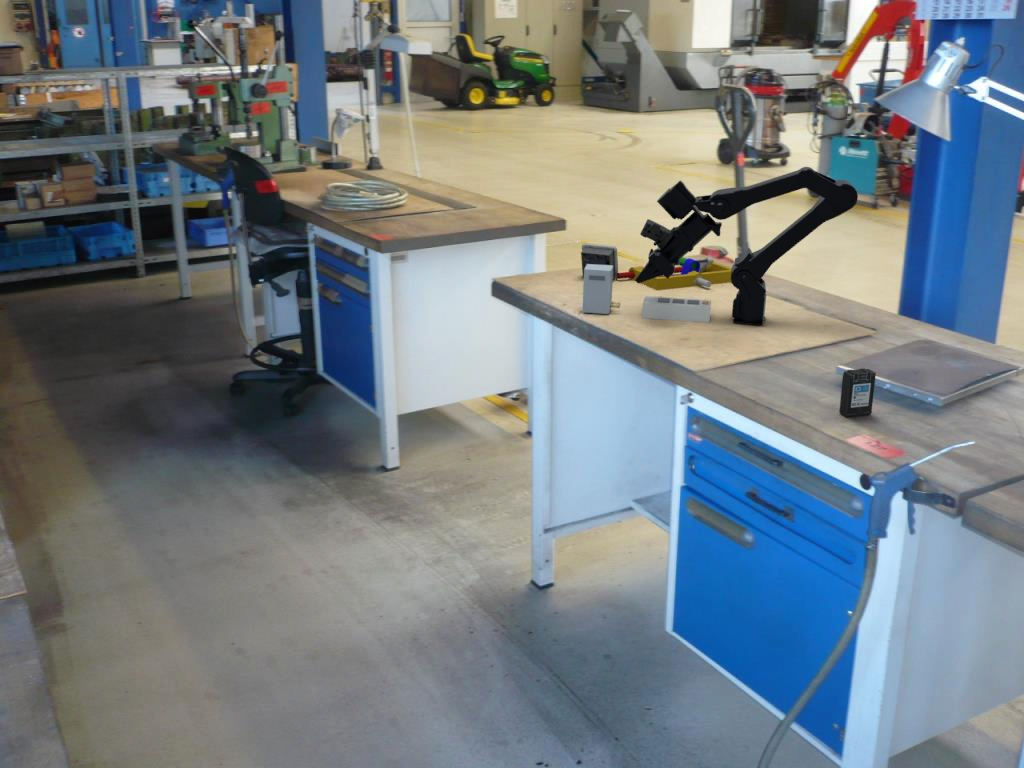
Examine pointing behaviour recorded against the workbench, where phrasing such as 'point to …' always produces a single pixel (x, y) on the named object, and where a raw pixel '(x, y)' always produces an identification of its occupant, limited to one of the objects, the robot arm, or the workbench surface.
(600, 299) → the charger
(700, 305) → the power strip
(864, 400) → the ink cartridge
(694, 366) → the workbench surface
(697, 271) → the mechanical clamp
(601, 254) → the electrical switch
